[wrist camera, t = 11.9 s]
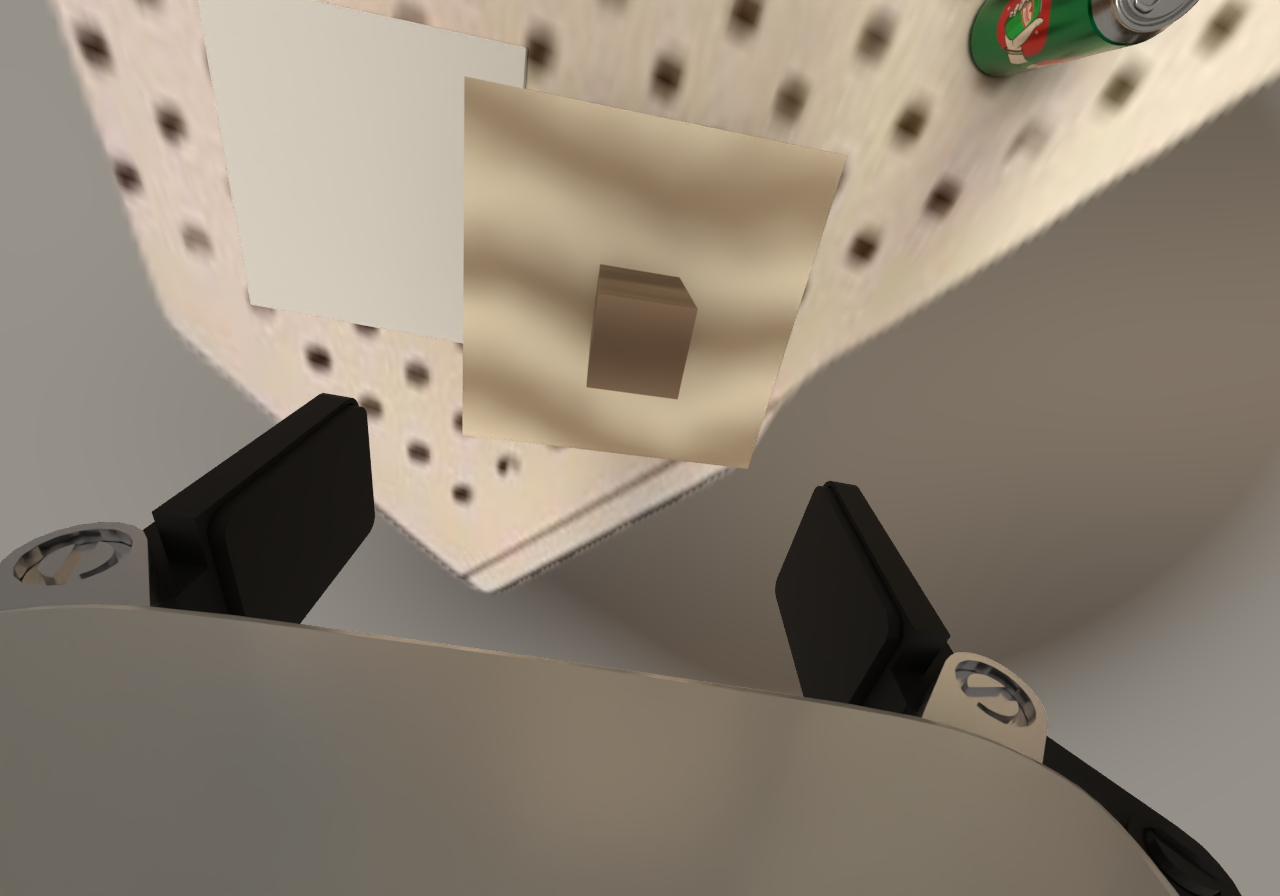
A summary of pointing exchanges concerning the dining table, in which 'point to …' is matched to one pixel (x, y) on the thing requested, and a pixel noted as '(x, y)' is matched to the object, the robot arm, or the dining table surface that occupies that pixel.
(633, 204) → the birch lid
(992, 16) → the soda can
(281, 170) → the grey mat
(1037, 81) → the dining table surface
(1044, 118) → the dining table surface
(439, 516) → the dining table surface
